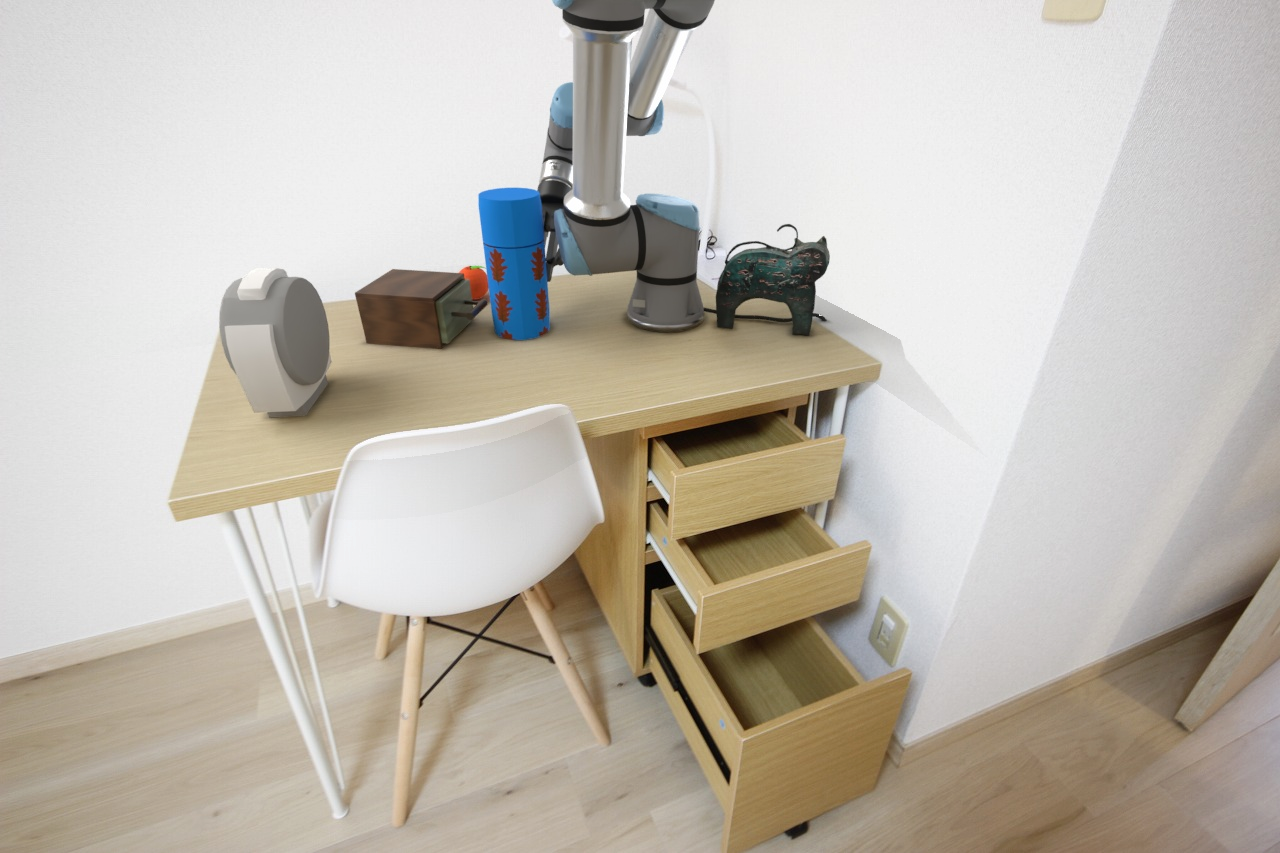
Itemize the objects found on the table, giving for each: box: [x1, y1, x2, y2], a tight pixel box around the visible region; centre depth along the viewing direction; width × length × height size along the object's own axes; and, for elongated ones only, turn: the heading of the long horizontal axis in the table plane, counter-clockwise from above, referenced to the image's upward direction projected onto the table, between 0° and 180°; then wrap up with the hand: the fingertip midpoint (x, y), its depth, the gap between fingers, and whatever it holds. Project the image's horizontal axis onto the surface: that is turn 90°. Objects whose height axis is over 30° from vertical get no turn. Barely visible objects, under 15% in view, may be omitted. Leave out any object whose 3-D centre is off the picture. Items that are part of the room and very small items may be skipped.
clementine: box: [458, 265, 489, 301], centre depth 136 cm, size 8×7×7 cm
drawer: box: [435, 279, 489, 344], centre depth 120 cm, size 18×12×8 cm
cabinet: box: [354, 268, 465, 350], centre depth 120 cm, size 15×14×10 cm
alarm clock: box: [218, 267, 332, 418], centre depth 95 cm, size 18×8×20 cm, turn 5°
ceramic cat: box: [715, 223, 831, 337], centre depth 119 cm, size 20×6×20 cm, turn 77°
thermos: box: [477, 187, 551, 341], centre depth 117 cm, size 11×11×25 cm
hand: (537, 295), depth 127 cm, fingers closed
